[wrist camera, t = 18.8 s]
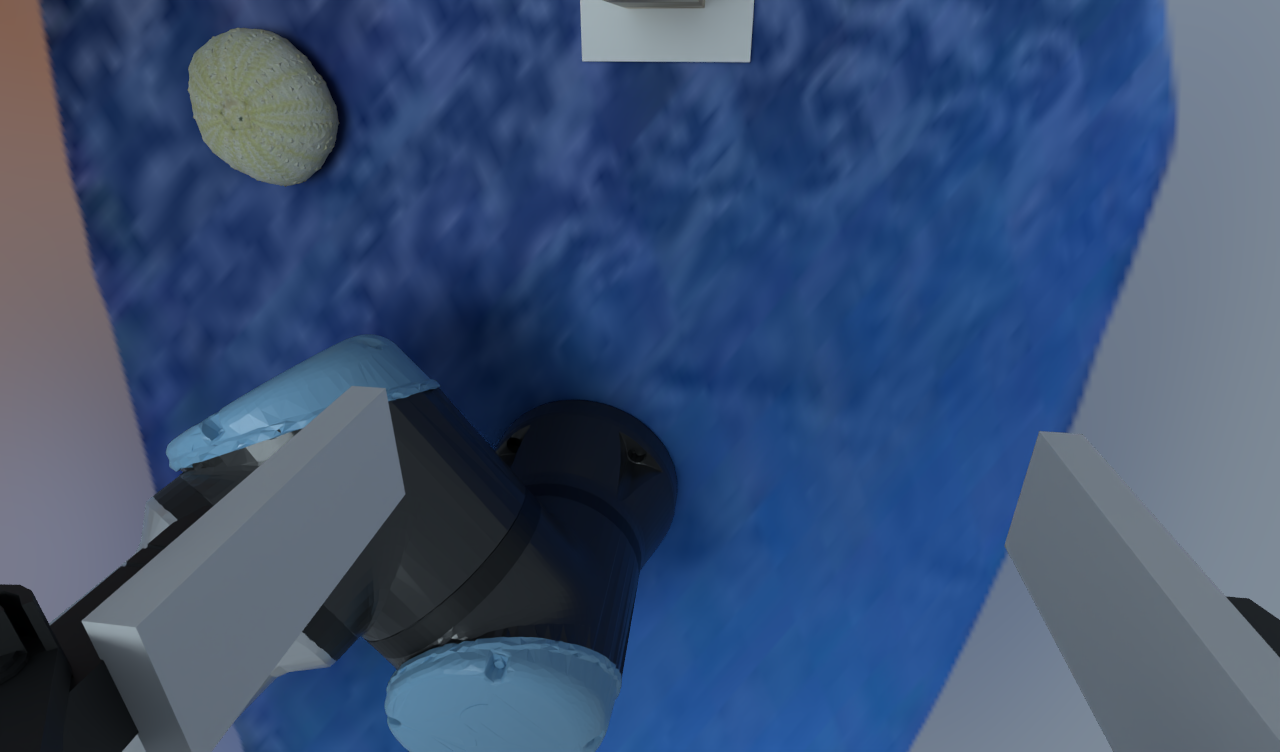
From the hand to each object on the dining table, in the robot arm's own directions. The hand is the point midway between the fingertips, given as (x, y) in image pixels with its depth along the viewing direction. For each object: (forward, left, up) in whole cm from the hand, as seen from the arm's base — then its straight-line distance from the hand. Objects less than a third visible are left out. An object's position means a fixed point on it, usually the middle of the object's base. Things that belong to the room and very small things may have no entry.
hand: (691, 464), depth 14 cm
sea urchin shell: (+4, +30, -33) cm, 45 cm away
